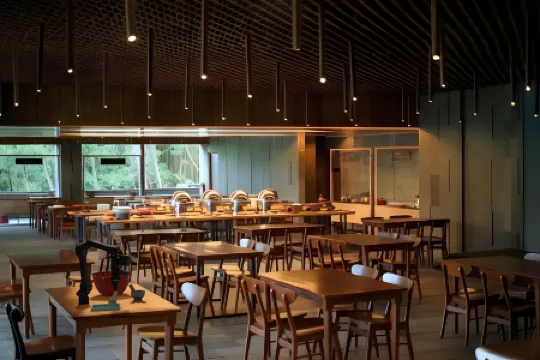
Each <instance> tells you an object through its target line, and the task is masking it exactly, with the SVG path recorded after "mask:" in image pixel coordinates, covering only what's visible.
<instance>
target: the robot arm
mask: <svg viewBox="0 0 540 360" xmlns="http://www.w3.org/2000/svg"><path fill="white" fill-rule="evenodd" d="M91 248H95V249H97V250H101V251H103V252H106V253H107V254H108V255H109V256H108V257H107V259H109V260H110V271H111V277H110V280H111V283H112V285H113V288H114V290H117V284H118V282H119V281H120V274H121V275H124V276H127V275H128V273H129V272H130V271H129V270H127V268H126V267H125V266H127V267H129V266H131V264H132V260H131V259H132V258H131V257H130V255H127V254H126V255H125V253H124V252H123V251H122V248H121V247H120V246H119V245H111V244H106V243H104V242H100V241H97V240H94V239H89V240H87V241H85V242H84V243H81V244H79V245H76V246H75V248H74V252H75V256H77V258H78V265H79V273H80V274H79V275H80V282H79V286H78V287H79V289H78V290H77V291H76V292H75V295H76V297H77V298H78V302H77V303H78V304H77V306H81V305H89V304H90V296H89V295H90V294H91V291H92V290H93V288H94V286H93V281H91V280H90V279H89V272H88V262H87V257H88V253H89V252H88V251H89V250H90V249H91ZM121 267H124V268H121Z"/></svg>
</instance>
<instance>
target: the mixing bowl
mask: <svg viewBox="0 0 540 360" xmlns="http://www.w3.org/2000/svg"><path fill="white" fill-rule="evenodd" d="M132 274H133V273H132V272H131V271H129V273H128V275H127V276H124V275H121V274H120V281H119V282H118V284H117V290H114V288H113V285H112V283H111V280H110V277H111V270H104V271H103V270H101V271H95V272H92V273H90V275H91V278H92V280H93V281H92V282H93V284H94V287H95V289H96V290H97V292H98V293H99V294H100V295H101V296H104V297H113V294H114V291H116V292H118V294H117V296H121V295H122V294H123V293H125V292H126V290H127V289H128V288H127V287H129V285H130V281H131V277H132Z"/></svg>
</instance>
